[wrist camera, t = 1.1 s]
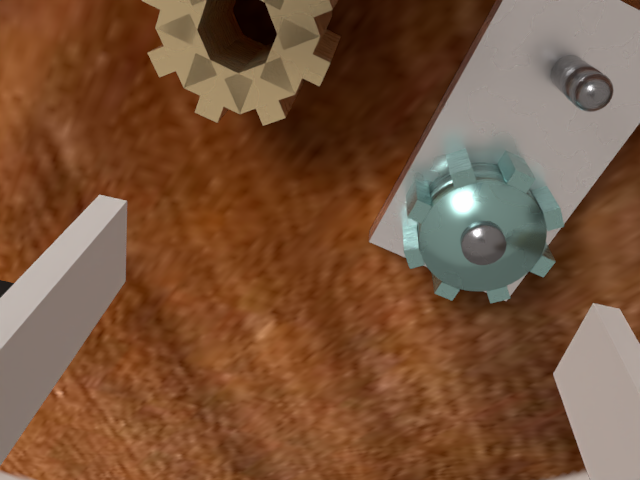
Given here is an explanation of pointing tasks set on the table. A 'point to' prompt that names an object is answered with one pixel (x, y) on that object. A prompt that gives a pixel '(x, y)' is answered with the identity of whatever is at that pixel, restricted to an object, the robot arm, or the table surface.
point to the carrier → (516, 143)
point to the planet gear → (243, 54)
